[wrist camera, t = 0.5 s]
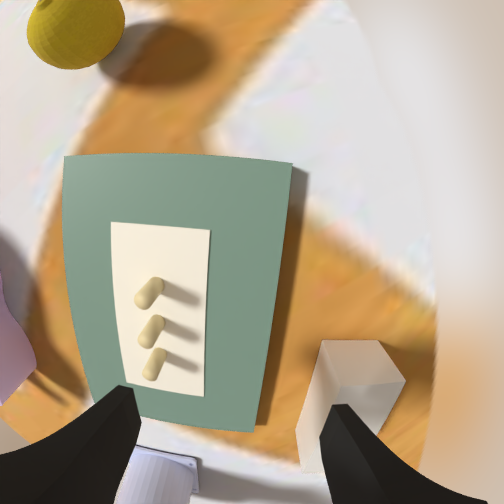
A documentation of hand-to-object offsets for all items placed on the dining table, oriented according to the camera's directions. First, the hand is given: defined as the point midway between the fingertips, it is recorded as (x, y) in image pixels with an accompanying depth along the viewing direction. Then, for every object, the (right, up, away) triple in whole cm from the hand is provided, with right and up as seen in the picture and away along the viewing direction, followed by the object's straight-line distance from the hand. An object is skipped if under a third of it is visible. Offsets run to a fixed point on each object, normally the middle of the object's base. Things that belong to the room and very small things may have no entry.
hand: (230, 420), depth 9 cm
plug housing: (+7, -7, +11) cm, 15 cm away
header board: (-5, +2, +9) cm, 10 cm away
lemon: (-9, +20, +5) cm, 23 cm away
